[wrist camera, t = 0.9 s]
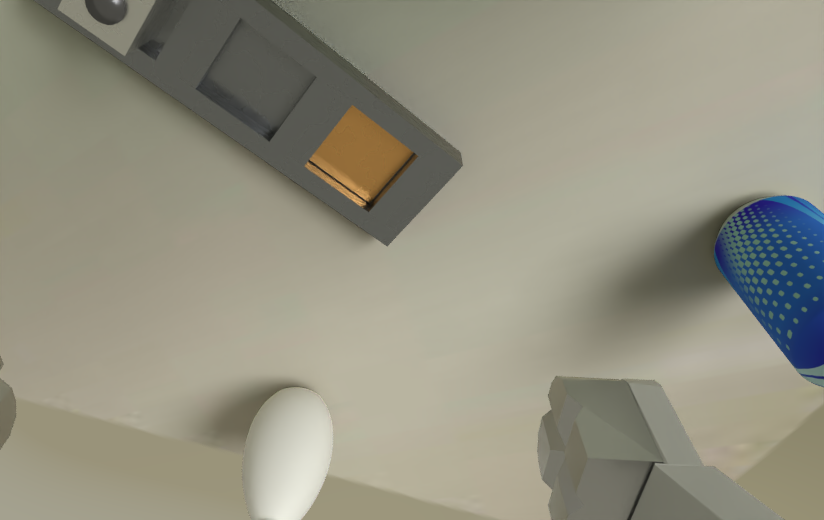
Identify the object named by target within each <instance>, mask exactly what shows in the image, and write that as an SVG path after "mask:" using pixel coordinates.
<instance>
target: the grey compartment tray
mask: <svg viewBox="0 0 824 520" xmlns="http://www.w3.org/2000/svg"><path fill="white" fill-rule="evenodd" d="M34 1H35V2H37V3H38V4H40V5H41V6H43V7H44V8H45V9H47V10H48V11H50V12H51V13H53V14H54V15H56V16H57V17H58V18H60V19H61V20H63V21H64V22H66V23H67V24H68V25H70V26H71V27H73V28H74V29H76V30H77V31H78V32H80V33H81V34H83V35H84V36H86V37H87V38H89V39H90V40H91V41H93V42H94V43H96V44H97V45H99V46H100V47H101V48H103V49H104V50H106V51H107V52H109V53H110V54H112V55H113V56H114V57H116V58H117V59H119V60H120V61H122V62H123V63H124V64H126V65H127V66H129V67H130V68H132V69H133V70H135V71H136V72H137V73H139V74H140V75H142V76H143V77H145V78H146V79H147V80H149V81H150V82H152V83H153V84H155V85H156V86H158V87H159V88H160V89H162V90H163V91H165V92H166V93H168V94H169V95H170V96H172V97H173V98H175V99H176V100H178V101H179V102H180V103H182V104H183V105H185V106H186V107H188V108H189V109H191V110H192V111H193V112H195V113H196V114H198V115H199V116H201V117H202V118H203V119H205V120H206V121H208V122H209V123H211V124H212V125H214V126H215V127H216V128H218V129H219V130H221V131H222V132H224V133H225V134H226V135H228V136H229V137H231V138H232V139H234V140H235V141H237V142H238V143H239V144H241V145H242V146H244V147H245V148H247V149H248V150H249V151H251V152H252V153H254V154H255V155H257V156H258V157H260V158H261V159H262V160H264V161H265V162H267V163H268V164H270V165H271V166H272V167H274V168H275V169H277V170H278V171H280V172H281V173H282V174H284V175H285V176H287V177H288V178H290V179H291V180H293V181H294V182H295V183H297V184H298V185H300V186H301V187H303V188H304V189H305V190H307V191H308V192H310V193H311V194H313V195H314V196H316V197H317V198H318V199H320V200H321V201H323V202H324V203H326V204H327V205H328V206H330V207H331V208H333V209H334V210H336V211H337V212H339V213H340V214H341V215H343V216H344V217H346V218H347V219H349V220H350V221H351V222H353V223H354V224H356V225H357V226H359V227H360V228H362V229H363V230H364V231H366V232H367V233H369V234H370V235H372V236H373V237H374V238H376V239H377V240H379V241H380V242H382V243H383V244H384V245H386V246H388V245H389V244H390V243H391V242H392V241H393V240H394V239H395V238H396V236H397V235H398V234H399V233H400V232H401V231H402V230H403V229H404V228H405V227H406V226H407V225H408V224H409V223H410V222H411V220H412V219H413V218H414V217H415V216H416V215H417V214H418V213H419V212H420V211H421V210H422V209H423V208H424V207H425V206H426V204H427V203H428V202H429V201H430V200H431V199H432V198H433V197H434V196H435V195H436V194H437V193H438V192H439V191H440V190H441V188H442V187H443V186H444V185H445V184H446V183H447V182H448V181H449V180H450V179H451V178H452V177H453V176H454V175H455V173H456V172H457V171H458V170H459V169H460V168H461V167H462V166H463V164H462V158H461V153H460V152H459V151H458V150H457V149H455V148H454V147H453V146H452V145H450V144H449V143H448V142H447V141H445V140H444V139H443V138H442V137H440V136H439V135H438V134H437V133H436V132H434V131H433V130H432V129H431V128H429V127H428V126H427V125H426V124H424V123H423V122H422V121H421V120H419V119H418V118H417V117H416V116H414V115H413V114H412V113H411V112H409V111H408V110H407V109H406V108H404V107H403V106H402V105H401V104H399V103H398V102H397V101H396V100H394V99H393V98H392V97H391V96H389V95H388V94H387V93H386V92H385V91H383V90H382V89H381V88H380V87H378V86H377V85H376V84H375V83H373V82H372V81H371V80H370V79H368V78H367V77H366V76H365V75H363V74H362V73H361V72H360V71H358V70H357V69H356V68H355V67H353V66H352V65H351V64H350V63H348V62H347V61H346V60H345V59H343V58H342V57H341V56H340V55H338V54H337V53H336V52H335V51H333V50H332V49H331V48H330V47H329V46H327V45H326V44H325V43H324V42H322V41H321V40H320V39H319V38H317V37H316V36H315V35H314V34H312V33H311V32H310V31H309V30H307V29H306V28H305V27H304V26H302V25H301V24H300V23H299V22H297V21H296V20H295V19H294V18H292V17H291V16H290V15H289V14H287V13H286V12H285V11H284V10H282V9H281V8H280V7H279V6H277V5H276V4H275V3H274V2H273V1H271V0H178V1H177V3H176V5H175V6H174V8H173V10H172V12H171V13H170V15H169V17H168V18H167V20H166V22H165V24H164V25H163V27H162V29H161V31H160V32H159V34H158V36H157V37H155V38H153V39H152V40H150V41H149V42H147V43H145V44H144V45H142V46H141V47H139V48H137V49H136V50H134V51H132V52H131V53H129V54H128V55H126V56H124V55H122V54H121V53H119V52H118V51H116V50H115V49H114V48H112V47H111V46H109V45H108V44H106V43H105V42H104V41H102V40H101V39H99V38H98V37H96V36H95V35H94V34H92V33H91V32H89V31H88V30H87V29H85V28H84V27H82V26H81V25H79V24H78V23H77V22H75V21H74V20H72V19H71V18H69V17H68V16H67V15H65V14H64V13H62V12H61V11H59V10H58V7H59V5H60V3H61V1H62V0H34Z"/></svg>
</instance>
